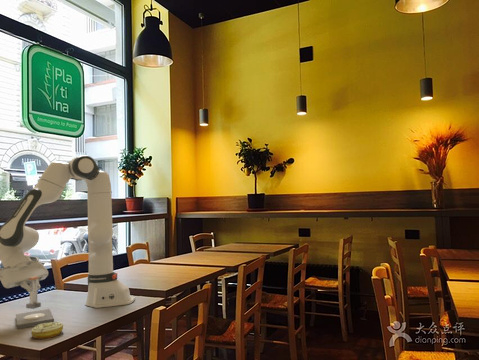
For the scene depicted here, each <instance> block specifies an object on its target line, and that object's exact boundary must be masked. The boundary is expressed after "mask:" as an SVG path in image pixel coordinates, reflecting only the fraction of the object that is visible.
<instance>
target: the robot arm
mask: <svg viewBox="0 0 479 360" xmlns="http://www.w3.org/2000/svg"><path fill="white" fill-rule="evenodd" d="M70 180H74V181H84V182H85V183H86V187H87V191H86V192H87V237H88V238H87V239H88V273H87V287H88V289H87V290H88V291H87V296H86V301H85V306H88V307H92V308H94V309H98V308H107V307H115V306H117V307H118V306H123V305H126V306H127V305H130V304H131V303H133V302H134V301H135V296H134V295H131V294H130V289H129V286H127V285H126V284H124V283H123V282H121V280H119V279H118V272H115V271H114V259H113V258H114V257H113V256H114V255H113V233H114V230H113V210H112V209H113V207H112V206H113V205H112V202H113V201H112V200H113V199H112V184H111V180H110V175H109V174H108V173H107V172H106V171H103V170H100V168H99V166H98V165H97V162H96V161H95V159H94V158H93V157H92V156H90V155H86V154H82V155H78V156H76V157H74V158H72V159H71V160H69V161H68V162H66V163H65V162H63V161H60V160H59V161H58V160H57V161H56V160H55V161H51V163H49V165H48V166H47V167H46V168H45V169H44V171H43V173H42V175H41V176H40V178H39V180H38V181H37V183H36V184H35V185H34V186H33V188H32V189H30V190H29V191H28V192H27V193H26V194H25V195H24V197H23V198H22V200H21V201H20V202H19V204H18V206H17V207H16V208H15V210H14V211H13V212H12V214H11V216H9V218H8V219H7V220H6V221H5V222H4V223H3V224H2V225H1V227H0V262H1V264H2V267H1V268H0V283H1V284H2V286H3V287H4V288H5V289H10V288H15V287H19V286H20V287H21V288H23V289H24V290H26V291H27V292H28V293H30V291H32V290H33V287H32V286H30V280H29V278H30V277H34V276H38V279H37V291H39V290H40V289H41V287H42V286H41V284H40V281H43V280H45V279H46V278H47V277H48V276H49V270H48V269H47V267H46V266H45V265H44V264H43V263H42V262H41V261H40V258H39V257H37V256H29V255H27V254H26V255H25V254H24V253H27V252H28V251H29V250H31V249H33V248H34V247H35V246H36V245H37V244H38V242H39V239H40V238H39V237H40V235H39V233H38V231H37V230H36V229H34V228H32V227H30V226H26V223H27V221H28V220H29V218H30V217H31V215H32V214H33V212H34V211H35V209H36V208H37V207H40V206H41V205H46V204H51V203H54V202H57V201H58V200H59V198H60V197H61V195H62V193H63V192H64V190H65V188H66V186H67V183H69V181H70Z"/></svg>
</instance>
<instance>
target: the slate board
mask: <svg viewBox="0 0 479 360" xmlns="http://www.w3.org/2000/svg"><path fill="white" fill-rule="evenodd" d="M15 321H16V322H15V323H16V329H17V330H20V329H26V328H30V327H35V326H37V325H39V324H43V323H49V322H55V318H54V316H53V314H52V312H51V310H50V308H47V309H42V310H35V311H34V310H33V311H29V312H22V313H16V314H15Z"/></svg>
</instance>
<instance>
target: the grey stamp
mask: <svg viewBox="0 0 479 360" xmlns="http://www.w3.org/2000/svg"><path fill="white" fill-rule="evenodd" d="M37 279H38V276H34V277H30V278H29V280H30V283H29V286H32V287H33V290H32V291H30V292H29V303H26V305H25V308H26V309H33V310H34V309H35V310H36V309H37V308H40V307H42V306H41V305H42V303H41V302H38V290H37Z"/></svg>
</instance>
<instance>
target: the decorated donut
mask: <svg viewBox="0 0 479 360" xmlns="http://www.w3.org/2000/svg"><path fill="white" fill-rule="evenodd" d="M63 329H64V324H63V323H62V322H57V321H54V322H49V323H43V324H39V325H37V326H33V327H32V329H31V335H32V337H33V338H34V339H39V340H40V339H41V340H42V339H51V338H55V337H56V336H57V337H58V335H60V334H61V333H62V331H63Z"/></svg>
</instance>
